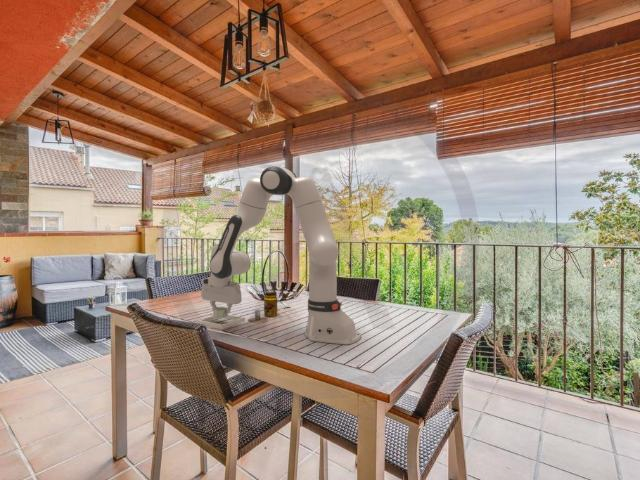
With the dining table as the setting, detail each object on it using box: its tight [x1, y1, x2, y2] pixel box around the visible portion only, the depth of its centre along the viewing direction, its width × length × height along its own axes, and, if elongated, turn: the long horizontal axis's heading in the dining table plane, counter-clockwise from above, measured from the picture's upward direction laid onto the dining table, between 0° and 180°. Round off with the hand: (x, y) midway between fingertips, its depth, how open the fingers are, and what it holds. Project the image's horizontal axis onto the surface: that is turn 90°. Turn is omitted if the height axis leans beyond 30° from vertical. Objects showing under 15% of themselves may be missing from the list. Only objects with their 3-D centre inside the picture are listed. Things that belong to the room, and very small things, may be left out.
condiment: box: [263, 291, 278, 318], centre depth 165 cm, size 7×8×12 cm
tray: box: [197, 314, 246, 330], centre depth 151 cm, size 14×14×2 cm
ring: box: [212, 306, 229, 319], centre depth 151 cm, size 6×6×3 cm
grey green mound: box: [247, 309, 268, 324], centre depth 156 cm, size 9×9×5 cm
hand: (221, 311), depth 151 cm, fingers closed on ring, 6 cm apart
